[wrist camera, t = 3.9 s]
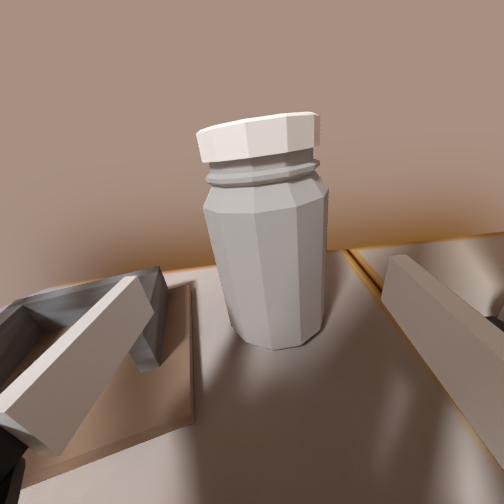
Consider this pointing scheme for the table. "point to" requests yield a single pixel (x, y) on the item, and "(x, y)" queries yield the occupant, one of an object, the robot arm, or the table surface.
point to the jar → (268, 225)
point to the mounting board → (124, 379)
